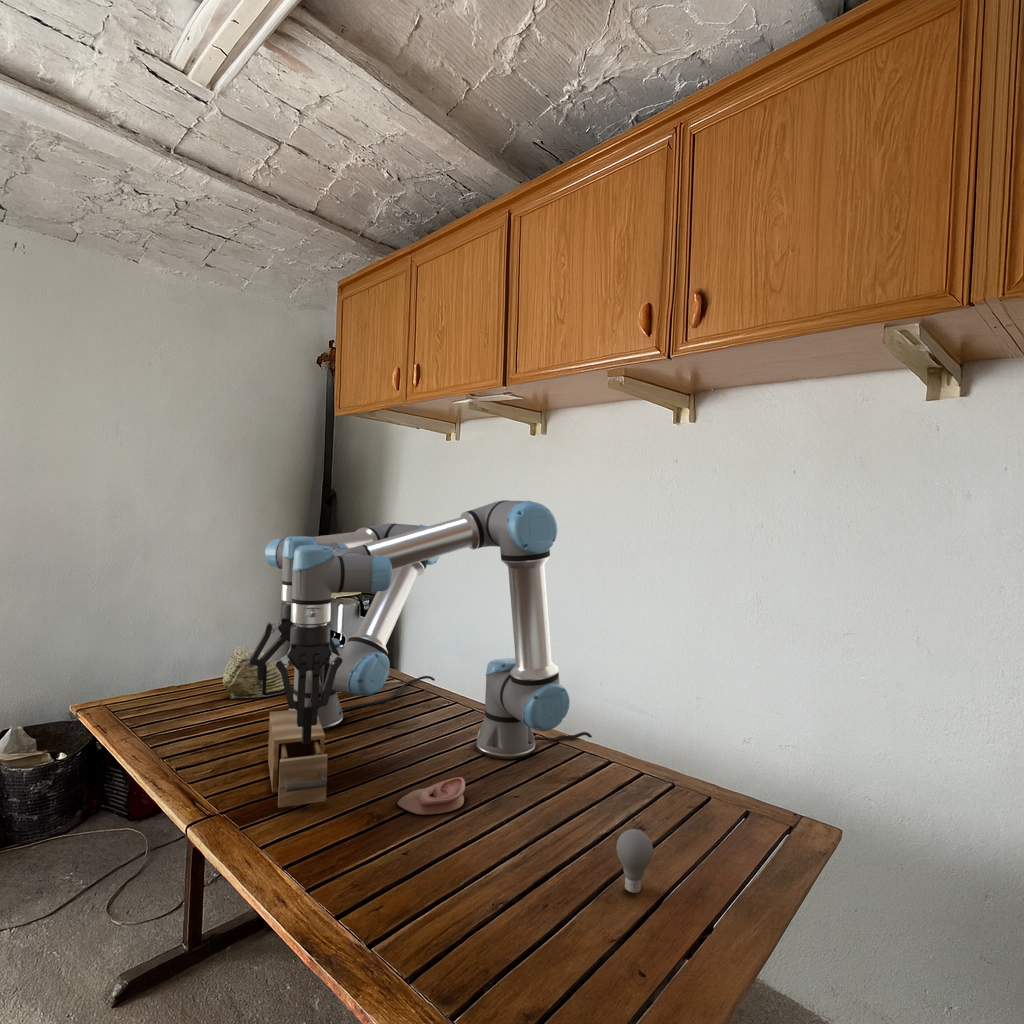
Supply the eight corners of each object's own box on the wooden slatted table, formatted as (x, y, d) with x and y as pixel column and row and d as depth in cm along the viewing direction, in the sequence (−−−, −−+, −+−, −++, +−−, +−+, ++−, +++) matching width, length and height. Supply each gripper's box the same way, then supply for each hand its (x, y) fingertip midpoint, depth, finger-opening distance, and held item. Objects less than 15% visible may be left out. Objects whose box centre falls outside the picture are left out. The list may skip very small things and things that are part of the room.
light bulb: (610, 879, 108) (613, 822, 108) (644, 879, 109) (647, 822, 109) (619, 902, 102) (622, 840, 102) (655, 901, 103) (658, 840, 103)
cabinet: (323, 785, 139) (325, 734, 139) (272, 792, 135) (274, 740, 134) (313, 753, 156) (314, 707, 155) (267, 758, 151) (269, 711, 151)
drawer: (330, 814, 125) (331, 767, 125) (280, 822, 121) (282, 773, 121) (315, 767, 146) (317, 726, 146) (273, 772, 142) (274, 731, 142)
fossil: (218, 695, 195) (220, 647, 195) (278, 685, 208) (279, 640, 207) (228, 703, 189) (230, 653, 188) (289, 692, 201) (290, 645, 201)
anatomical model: (392, 791, 129) (412, 768, 140) (391, 810, 129) (411, 786, 140) (454, 800, 126) (470, 776, 137) (454, 820, 126) (469, 794, 137)
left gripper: (240, 606, 141) (237, 700, 141) (354, 603, 151) (350, 691, 152) (240, 600, 148) (237, 690, 148) (349, 598, 158) (345, 682, 158)
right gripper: (276, 628, 119) (272, 752, 120) (347, 626, 125) (342, 744, 125) (274, 621, 126) (270, 738, 127) (341, 618, 131) (336, 731, 132)
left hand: (294, 691), depth 150 cm, fingers open, 13 cm apart
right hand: (306, 741), depth 126 cm, fingers closed
